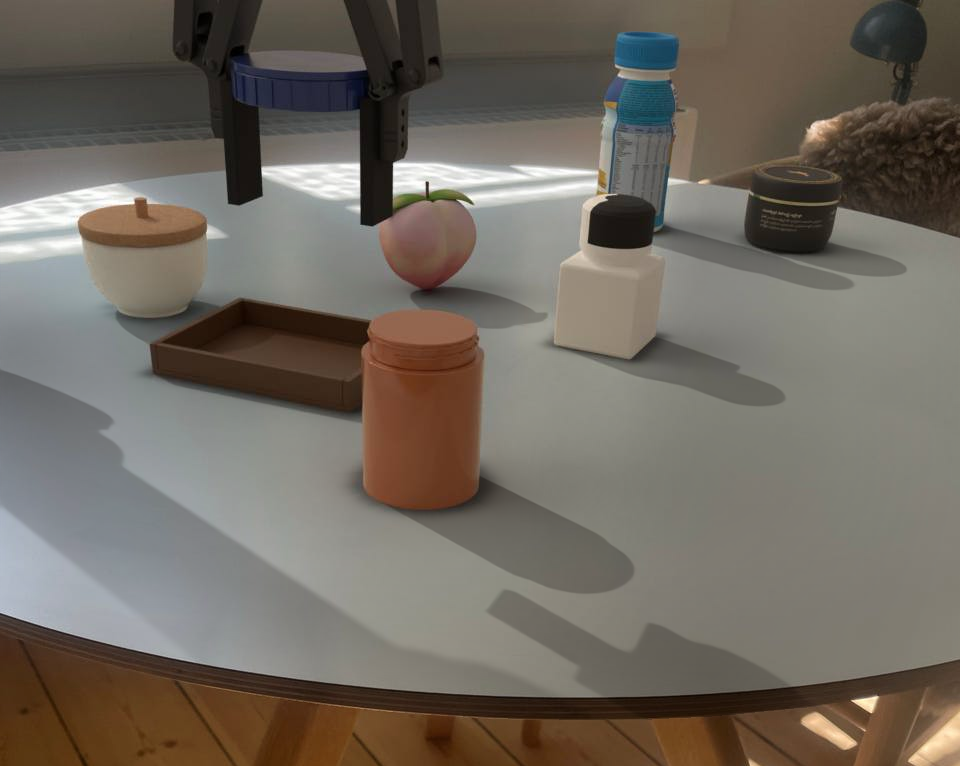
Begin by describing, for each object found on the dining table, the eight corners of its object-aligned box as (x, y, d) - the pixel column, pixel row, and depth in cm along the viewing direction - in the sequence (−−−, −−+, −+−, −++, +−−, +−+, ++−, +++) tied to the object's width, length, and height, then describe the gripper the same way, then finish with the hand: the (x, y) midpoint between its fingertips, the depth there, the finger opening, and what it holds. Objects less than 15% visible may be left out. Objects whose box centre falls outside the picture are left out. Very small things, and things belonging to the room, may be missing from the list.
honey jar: (343, 496, 74) (339, 334, 68) (392, 452, 80) (392, 299, 74) (452, 520, 72) (458, 355, 66) (495, 472, 78) (503, 318, 72)
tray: (152, 374, 90) (148, 343, 89) (241, 325, 101) (239, 297, 99) (350, 414, 85) (349, 381, 84) (422, 358, 96) (423, 329, 94)
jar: (753, 228, 137) (764, 159, 133) (838, 241, 134) (852, 171, 129) (730, 247, 130) (741, 175, 125) (819, 261, 126) (834, 187, 122)
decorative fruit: (439, 272, 117) (441, 167, 111) (487, 293, 111) (492, 184, 106) (359, 285, 112) (357, 176, 106) (406, 308, 107) (407, 195, 101)
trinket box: (153, 335, 98) (139, 221, 92) (64, 310, 102) (46, 199, 97) (238, 305, 105) (230, 197, 100) (152, 282, 110) (140, 178, 105)
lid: (406, 108, 63) (406, 69, 62) (269, 116, 59) (267, 75, 58) (339, 84, 68) (339, 48, 67) (210, 90, 64) (208, 52, 63)
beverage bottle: (630, 240, 130) (652, 41, 119) (576, 224, 135) (592, 31, 124) (678, 229, 135) (704, 37, 124) (624, 214, 140) (644, 28, 129)
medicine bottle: (656, 337, 103) (674, 196, 96) (630, 361, 97) (648, 213, 91) (581, 323, 105) (594, 184, 98) (552, 346, 100) (563, 201, 93)
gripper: (529, -280, 54) (499, 221, 67) (153, -290, 60) (191, 174, 73) (470, -302, 48) (450, 252, 61) (60, -310, 54) (119, 199, 67)
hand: (310, 209), depth 67 cm, fingers closed on lid, 8 cm apart
